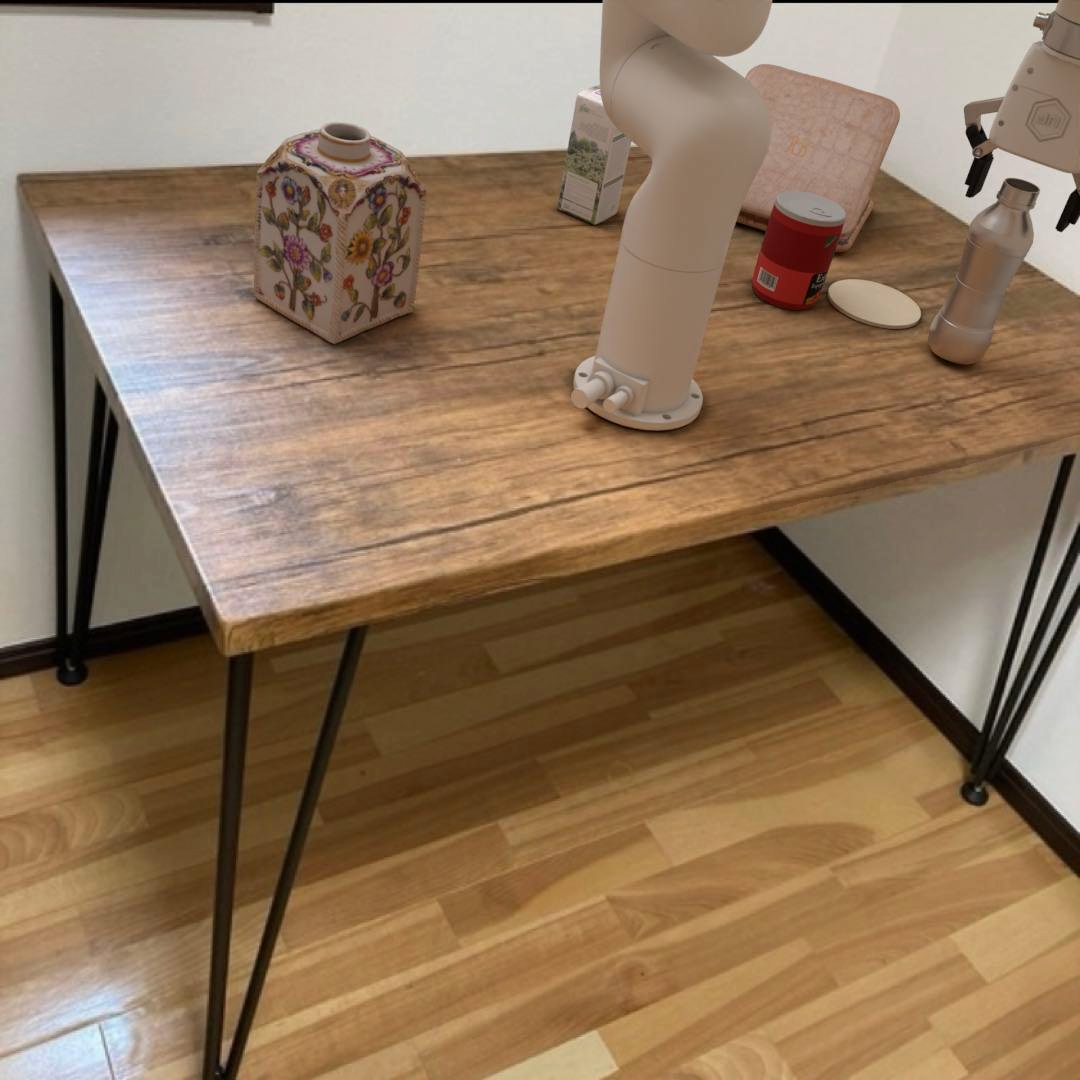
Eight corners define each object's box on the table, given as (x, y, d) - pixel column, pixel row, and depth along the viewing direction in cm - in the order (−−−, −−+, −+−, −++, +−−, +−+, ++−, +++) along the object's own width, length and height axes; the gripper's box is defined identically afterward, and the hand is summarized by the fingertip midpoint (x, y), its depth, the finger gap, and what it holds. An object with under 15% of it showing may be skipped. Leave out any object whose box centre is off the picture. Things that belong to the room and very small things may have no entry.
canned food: (816, 317, 140) (846, 227, 134) (747, 300, 141) (773, 209, 134) (818, 289, 147) (847, 201, 140) (752, 272, 147) (778, 184, 140)
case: (688, 212, 158) (720, 86, 148) (734, 164, 174) (765, 47, 164) (843, 263, 154) (885, 136, 144) (875, 208, 170) (916, 91, 160)
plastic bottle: (971, 378, 135) (1047, 205, 123) (913, 354, 137) (981, 181, 125) (988, 358, 140) (1062, 188, 127) (931, 334, 142) (999, 166, 130)
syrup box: (618, 214, 154) (643, 97, 145) (593, 227, 150) (617, 108, 141) (579, 197, 156) (601, 82, 147) (554, 210, 152) (575, 91, 143)
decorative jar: (249, 298, 123) (253, 119, 112) (334, 267, 131) (345, 98, 120) (335, 349, 118) (347, 167, 107) (418, 313, 126) (437, 141, 115)
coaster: (899, 339, 140) (900, 335, 139) (812, 301, 144) (813, 297, 143) (933, 309, 147) (934, 305, 147) (849, 273, 151) (850, 270, 151)
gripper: (987, 19, 118) (925, 190, 129) (1169, 77, 112) (1088, 252, 122) (1011, 8, 123) (950, 173, 134) (1187, 62, 117) (1108, 231, 127)
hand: (1016, 210), depth 128 cm, fingers open, 9 cm apart
